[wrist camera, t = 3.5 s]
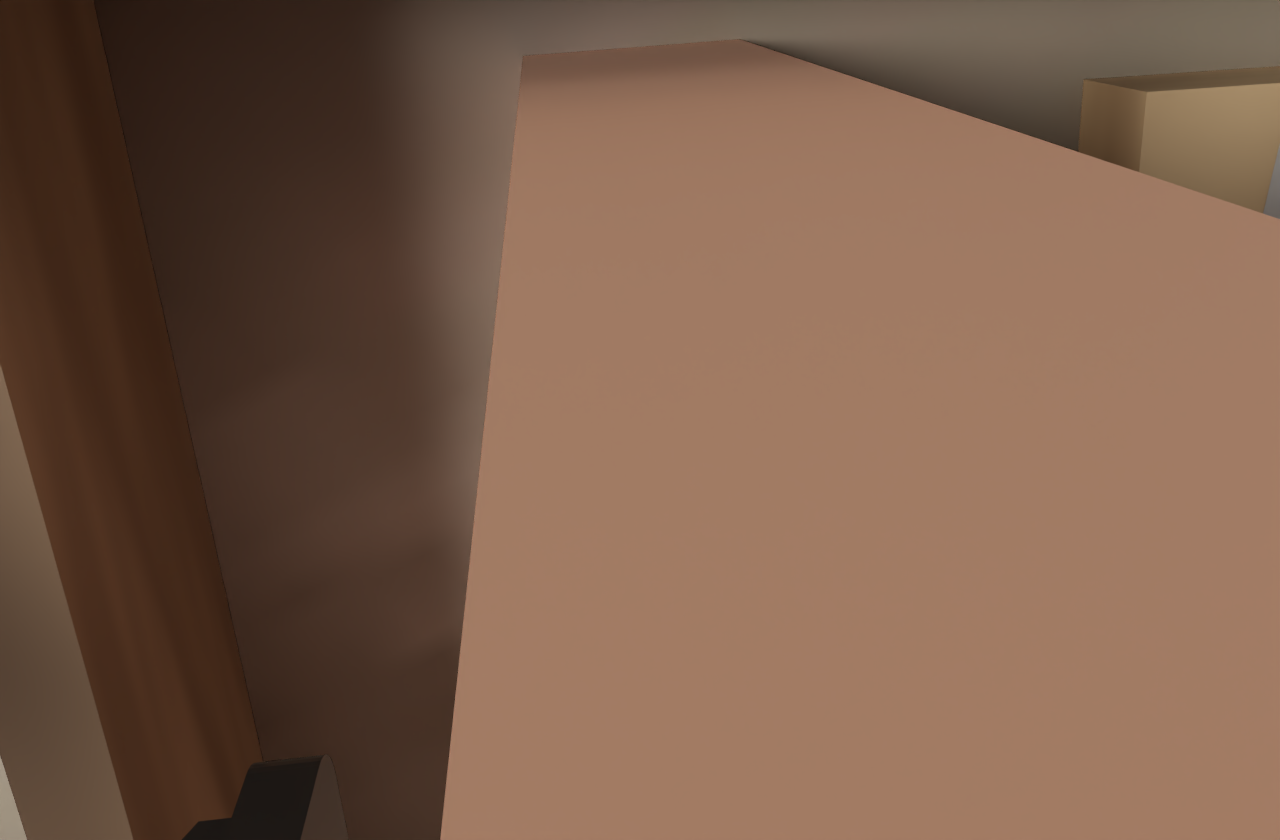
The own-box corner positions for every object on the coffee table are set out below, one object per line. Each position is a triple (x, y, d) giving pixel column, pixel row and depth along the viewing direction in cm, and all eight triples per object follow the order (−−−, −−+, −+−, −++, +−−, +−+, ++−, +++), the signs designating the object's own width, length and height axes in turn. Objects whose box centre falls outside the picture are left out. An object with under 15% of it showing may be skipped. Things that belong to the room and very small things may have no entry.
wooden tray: (1864, -296, 16) (2413, -406, 11) (1545, 888, 23) (1798, 1117, 19) (-46, -172, 15) (-318, -239, 10) (259, 1045, 22) (186, 1335, 17)
